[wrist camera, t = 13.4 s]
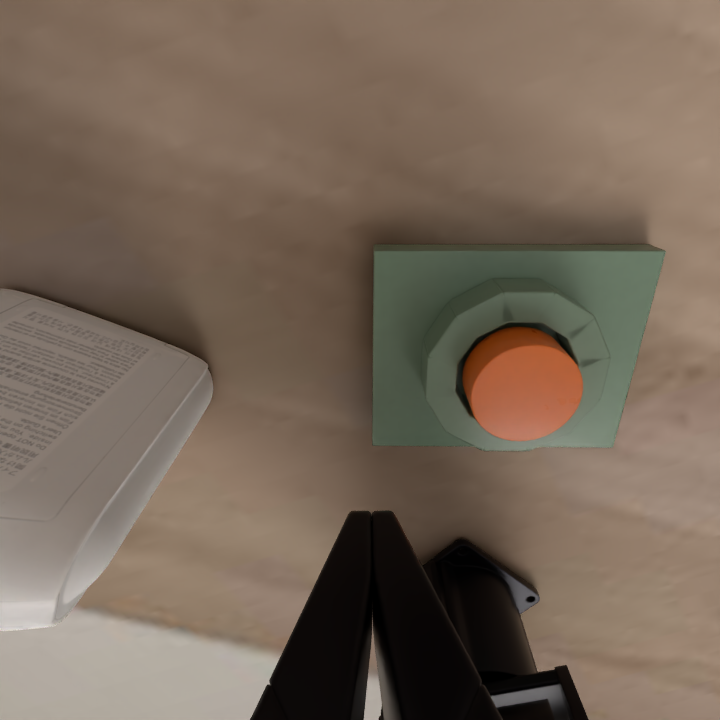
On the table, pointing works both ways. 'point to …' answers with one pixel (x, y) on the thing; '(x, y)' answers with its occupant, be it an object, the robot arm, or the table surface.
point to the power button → (521, 384)
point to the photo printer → (80, 446)
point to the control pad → (496, 312)
